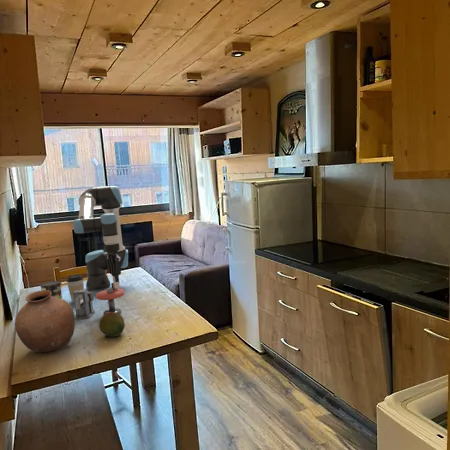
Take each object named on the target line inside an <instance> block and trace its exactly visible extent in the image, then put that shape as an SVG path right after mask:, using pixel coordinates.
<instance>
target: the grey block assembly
mask: <svg viewBox="0 0 450 450" xmlns="http://www.w3.org/2000/svg"><path fill="white" fill-rule="evenodd" d="M87 292H88V290H87V289H84V290H76V291H74V292H73V297H74V302H73V303H74V318H75V320H85V319H88V320H89V319H90V318H91V317H92V316H93V315H94V314H95V311H94V305H93V301H92V300H89V301H88V296H87ZM79 295H82V296H83V304H84V306H83V307H82V308H81V309H76V303H75V298H79Z"/></svg>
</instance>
